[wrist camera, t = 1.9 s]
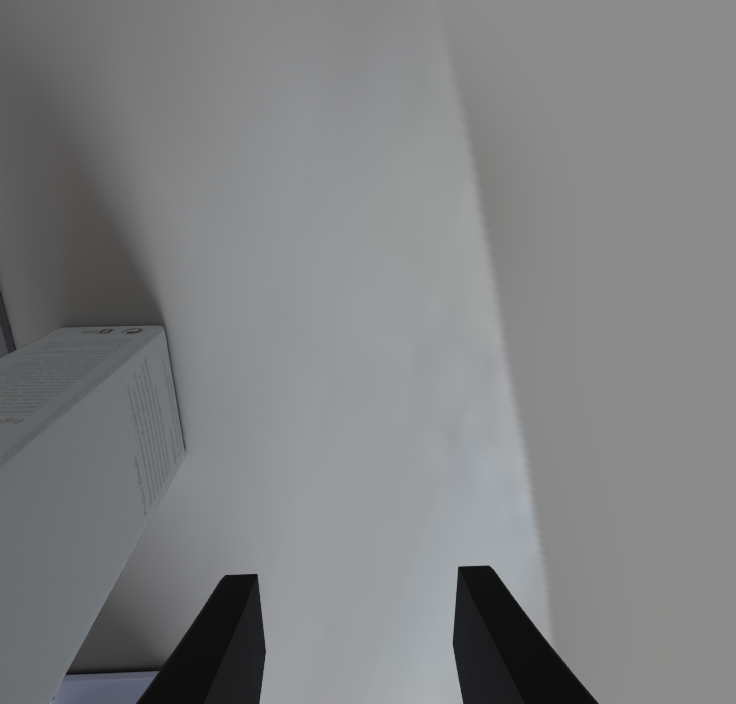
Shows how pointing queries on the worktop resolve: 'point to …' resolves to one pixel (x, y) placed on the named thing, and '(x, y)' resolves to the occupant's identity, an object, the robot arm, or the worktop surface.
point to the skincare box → (76, 487)
